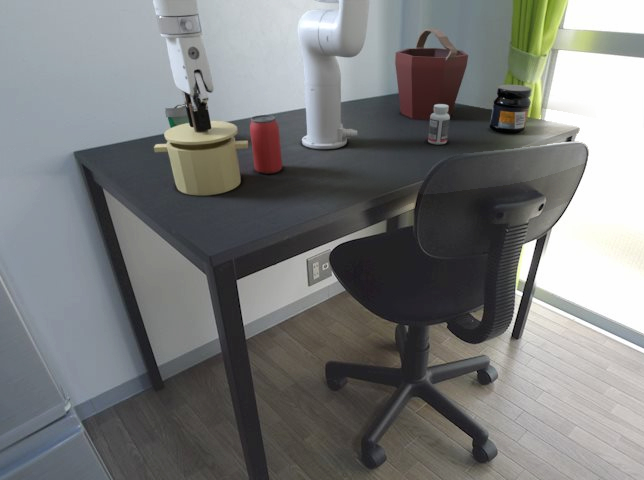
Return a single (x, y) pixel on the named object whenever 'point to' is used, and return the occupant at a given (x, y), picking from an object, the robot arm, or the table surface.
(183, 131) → the lid
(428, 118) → the bucket
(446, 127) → the pill bottle
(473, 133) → the table surface
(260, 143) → the beer can
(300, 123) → the table surface
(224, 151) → the pot
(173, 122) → the food container
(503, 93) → the supplement container
